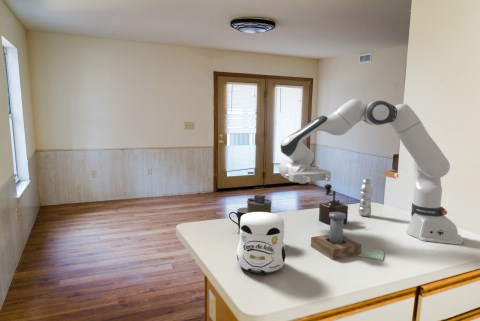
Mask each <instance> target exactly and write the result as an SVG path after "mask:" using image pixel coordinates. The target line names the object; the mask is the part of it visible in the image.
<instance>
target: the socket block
mask: <svg viewBox="0 0 480 321" xmlns="http://www.w3.org/2000/svg"><path fill="white" fill-rule="evenodd" d="M329 239H330V233H328V234H324V235H322V234H321V235H317V236H311V238H310V247H311V248H312V249H314V250H316V251H317V252H319V253H320V254H322V255H323V256H325V257H327V258H329V259H330V260H332V261H335V260H339V259H345V258H349V257H350V258H351V257H354V256H355V257H356V256H358V254H361V248H363V245H362V244H361V243H359V242H357V241H355V240H353V239H351V238H349V237H347V236H345V235H343V238H342V244H337V245H334V244H332V243H330V242H329Z"/></svg>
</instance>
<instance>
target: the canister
mask: <svg viewBox="0 0 480 321" xmlns="http://www.w3.org/2000/svg"><path fill="white" fill-rule="evenodd" d="M266 197H267V196H266V195H263V194H261V193H259V194H254V198H253V197H250V198H247V201H246V204H247V207H246V208H247V213H252V212H268V213H272V203H273V202H272V200H271V199H267V198H266Z"/></svg>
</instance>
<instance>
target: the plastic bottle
mask: <svg viewBox="0 0 480 321" xmlns="http://www.w3.org/2000/svg"><path fill="white" fill-rule="evenodd" d="M362 180H363V181H362V185H361V186H360V188H359V196H360V197H359V199H360V201H359V206H358V215H360V216H363V217H369V216H371V215H372V202H371V201H372V196H373V190H374V189H373V186H372V185H371V184H372V183H371V181H372V180H371V179H369V178H365V179H362Z"/></svg>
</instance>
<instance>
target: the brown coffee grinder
mask: <svg viewBox="0 0 480 321" xmlns="http://www.w3.org/2000/svg"><path fill="white" fill-rule="evenodd" d="M332 188H333V187H332V184H330V183H328V184H327V183H326V184H324V190H326V191H325V194H324V195H325V196H330V197H331V196H332V200H329V201H327V202H322V203H319V207H318V209H319V210H318V212H319V213H318V222H320V223H322V224H325V225H328V226H330V222H331V218H330V217H329V213H330V212H341V213H344V214H346V218H345V219H344V223H343V226H344V225H347V224H348V217H349V216H348V215H349V206H348V205H346V204H344V203H343V202H340V199H337V200H336V195H337V194H336V190H333V191H331V190H332ZM332 192H333V193H332Z"/></svg>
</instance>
